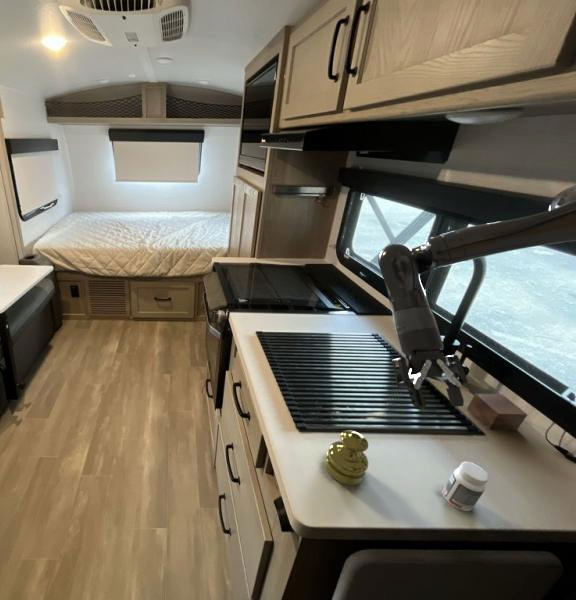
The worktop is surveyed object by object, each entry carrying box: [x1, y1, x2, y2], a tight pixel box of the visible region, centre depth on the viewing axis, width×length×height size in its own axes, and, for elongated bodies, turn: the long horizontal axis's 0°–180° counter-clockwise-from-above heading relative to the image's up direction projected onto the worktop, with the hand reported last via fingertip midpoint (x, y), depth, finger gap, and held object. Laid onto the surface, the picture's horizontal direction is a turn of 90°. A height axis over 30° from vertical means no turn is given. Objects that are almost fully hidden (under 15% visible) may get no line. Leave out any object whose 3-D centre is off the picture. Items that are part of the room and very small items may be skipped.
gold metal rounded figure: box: [324, 429, 369, 486], centre depth 68 cm, size 7×8×10 cm
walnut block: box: [467, 393, 528, 431], centre depth 84 cm, size 7×7×5 cm
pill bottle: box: [442, 461, 489, 512], centre depth 63 cm, size 5×5×8 cm
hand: (439, 407), depth 68 cm, fingers open, 8 cm apart
